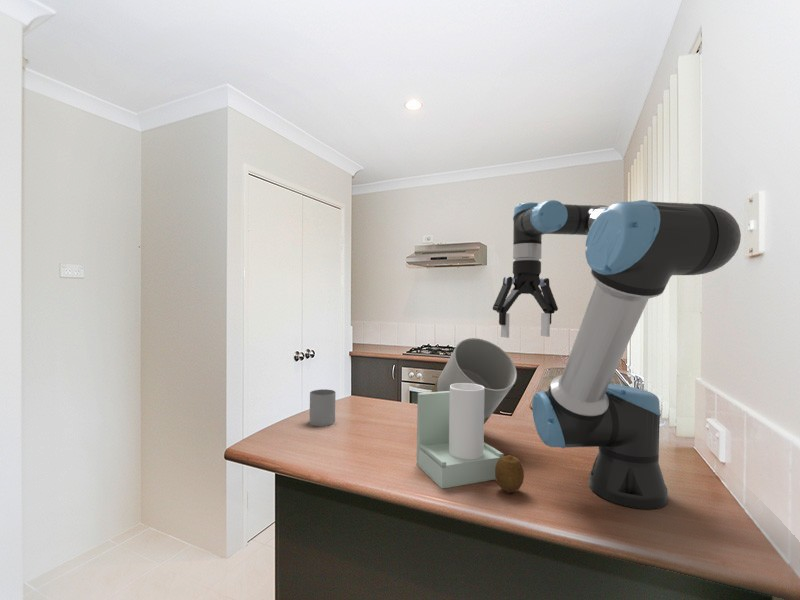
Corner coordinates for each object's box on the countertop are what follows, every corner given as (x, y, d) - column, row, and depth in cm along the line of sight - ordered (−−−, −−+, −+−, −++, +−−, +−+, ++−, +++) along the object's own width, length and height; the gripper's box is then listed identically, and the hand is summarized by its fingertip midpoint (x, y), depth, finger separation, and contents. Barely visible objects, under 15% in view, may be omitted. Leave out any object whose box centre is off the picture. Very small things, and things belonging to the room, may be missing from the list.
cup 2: (483, 461, 94) (484, 391, 94) (447, 457, 96) (448, 389, 96) (483, 448, 102) (484, 384, 102) (450, 445, 104) (451, 382, 104)
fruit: (488, 491, 91) (489, 454, 90) (504, 482, 95) (504, 447, 95) (514, 501, 86) (515, 463, 86) (529, 491, 90) (529, 455, 90)
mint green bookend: (502, 478, 97) (504, 401, 97) (441, 488, 91) (443, 407, 91) (471, 456, 110) (472, 389, 110) (416, 464, 104) (417, 393, 104)
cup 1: (308, 419, 140) (309, 390, 140) (332, 417, 143) (333, 388, 143) (310, 427, 132) (311, 395, 132) (336, 425, 135) (337, 394, 135)
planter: (438, 380, 141) (467, 328, 125) (487, 410, 137) (523, 360, 121) (415, 418, 127) (444, 365, 111) (469, 453, 123) (507, 403, 107)
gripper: (553, 263, 122) (551, 334, 123) (480, 259, 113) (479, 336, 114) (572, 261, 115) (570, 337, 116) (496, 256, 106) (495, 339, 107)
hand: (525, 336), depth 115 cm, fingers open, 13 cm apart
